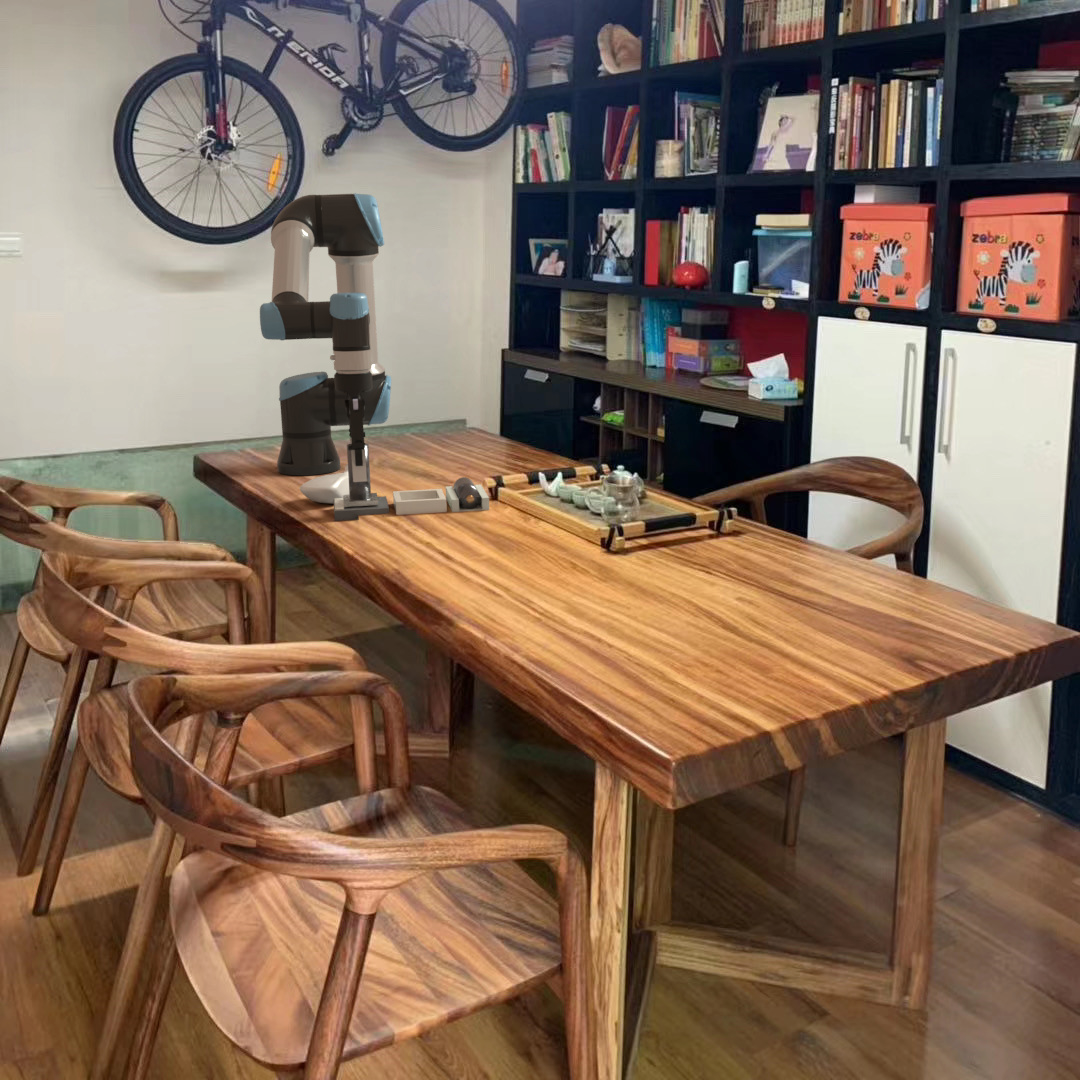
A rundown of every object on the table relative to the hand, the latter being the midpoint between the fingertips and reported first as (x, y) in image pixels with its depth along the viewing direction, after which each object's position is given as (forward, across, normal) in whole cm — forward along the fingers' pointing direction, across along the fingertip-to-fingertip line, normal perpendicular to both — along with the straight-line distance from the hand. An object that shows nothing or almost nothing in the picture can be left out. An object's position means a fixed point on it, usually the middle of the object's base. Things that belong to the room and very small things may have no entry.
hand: (359, 475), depth 247 cm
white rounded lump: (+8, -13, -7) cm, 17 cm away
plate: (+6, 0, 0) cm, 6 cm away
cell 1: (+5, 0, 0) cm, 5 cm away
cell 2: (+7, +1, +22) cm, 23 cm away
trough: (+8, +1, +22) cm, 23 cm away
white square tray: (+8, +2, +12) cm, 15 cm away
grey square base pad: (+8, 0, 0) cm, 8 cm away
